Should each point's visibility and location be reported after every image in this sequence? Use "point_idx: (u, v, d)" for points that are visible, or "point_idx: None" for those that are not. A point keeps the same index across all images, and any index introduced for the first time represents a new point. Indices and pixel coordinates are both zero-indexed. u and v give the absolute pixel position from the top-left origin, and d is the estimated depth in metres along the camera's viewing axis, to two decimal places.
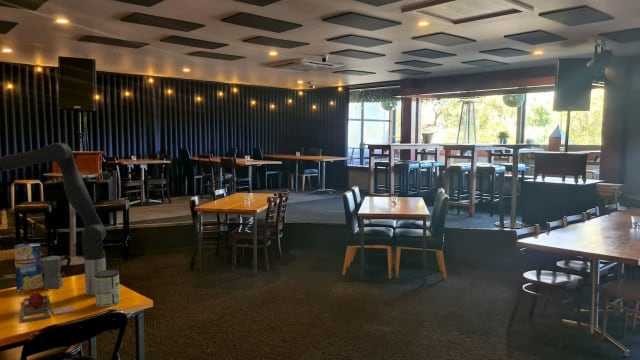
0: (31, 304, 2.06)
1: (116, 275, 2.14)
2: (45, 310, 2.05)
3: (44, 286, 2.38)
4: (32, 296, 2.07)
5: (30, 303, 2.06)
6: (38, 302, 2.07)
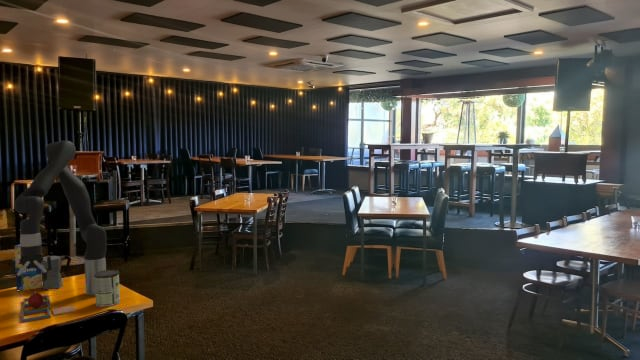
0: (31, 304, 2.06)
1: (116, 275, 2.14)
2: (45, 310, 2.05)
3: (44, 286, 2.38)
4: (32, 296, 2.07)
5: (30, 303, 2.06)
6: (38, 302, 2.07)
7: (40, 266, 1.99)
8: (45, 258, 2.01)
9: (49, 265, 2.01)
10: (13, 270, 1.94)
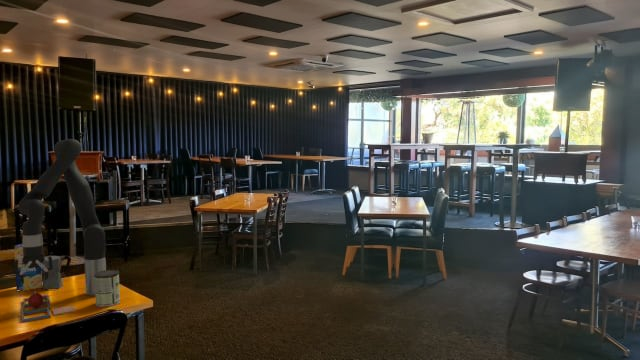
0: (31, 304, 2.06)
1: (116, 275, 2.14)
2: (45, 310, 2.05)
3: (44, 286, 2.38)
4: (32, 296, 2.07)
5: (30, 303, 2.06)
6: (38, 302, 2.07)
7: (42, 266, 2.08)
8: (46, 258, 2.10)
9: (50, 265, 2.10)
10: (16, 269, 2.03)
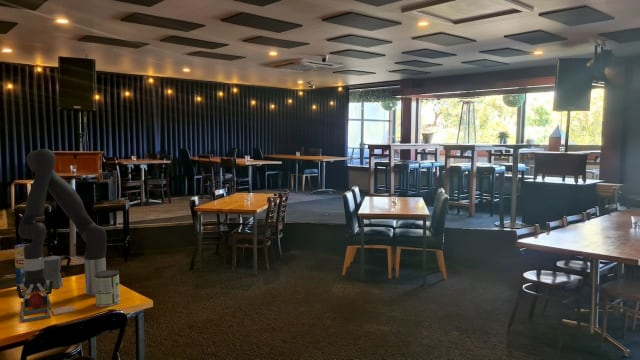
0: (31, 304, 2.06)
1: (116, 275, 2.14)
2: (45, 310, 2.05)
3: (44, 286, 2.38)
4: (32, 296, 2.07)
5: (30, 303, 2.06)
6: (38, 302, 2.07)
7: (42, 289, 2.09)
8: (48, 281, 2.11)
9: (50, 289, 2.11)
10: (20, 294, 2.04)
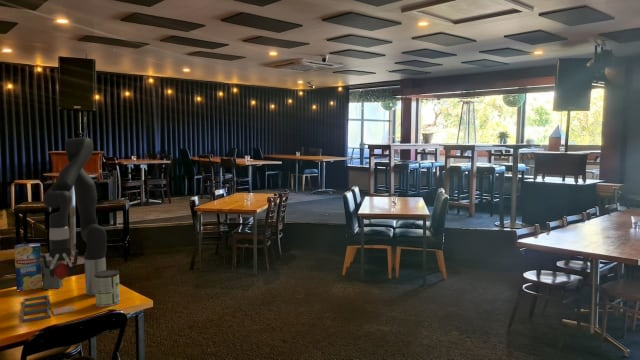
0: (57, 274, 2.02)
1: (116, 275, 2.14)
2: (45, 310, 2.05)
3: (44, 286, 2.38)
4: (58, 266, 2.03)
5: (56, 273, 2.02)
6: (64, 272, 2.03)
7: (67, 260, 2.05)
8: (73, 252, 2.07)
9: (75, 259, 2.07)
10: (45, 264, 2.01)
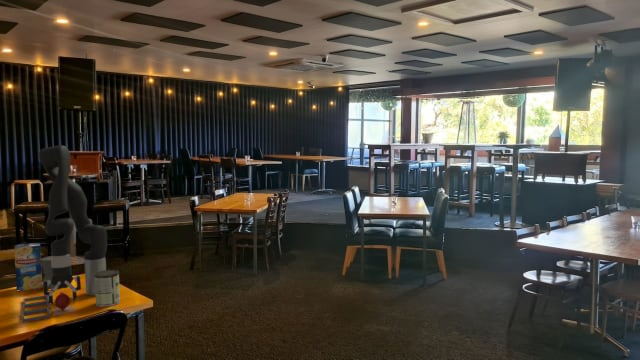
0: (58, 305, 2.03)
1: (116, 275, 2.14)
2: (45, 310, 2.05)
3: None
4: (59, 297, 2.04)
5: (57, 304, 2.03)
6: (65, 303, 2.04)
7: (70, 286, 2.06)
8: (75, 278, 2.08)
9: (79, 285, 2.08)
10: (45, 291, 2.01)
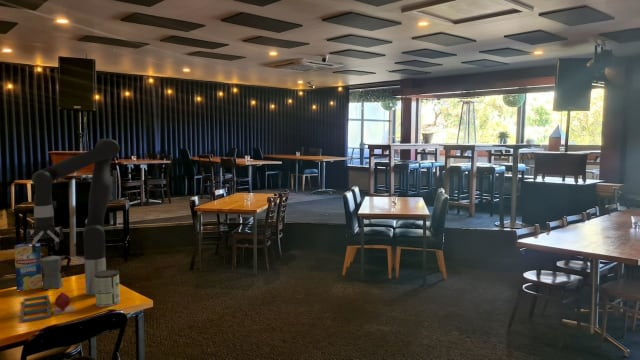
0: (58, 305, 2.03)
1: (116, 275, 2.14)
2: (45, 310, 2.05)
3: (44, 286, 2.38)
4: (59, 297, 2.04)
5: (57, 304, 2.03)
6: (65, 303, 2.04)
7: (53, 236, 2.15)
8: (57, 228, 2.17)
9: (61, 235, 2.17)
10: (28, 239, 2.10)
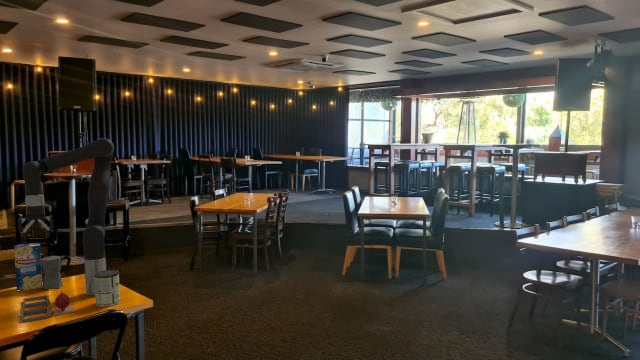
0: (58, 305, 2.03)
1: (116, 275, 2.14)
2: (45, 310, 2.05)
3: (44, 286, 2.38)
4: (59, 297, 2.04)
5: (57, 304, 2.03)
6: (65, 303, 2.04)
7: (44, 224, 2.22)
8: (48, 217, 2.24)
9: (52, 224, 2.24)
10: (19, 227, 2.17)
